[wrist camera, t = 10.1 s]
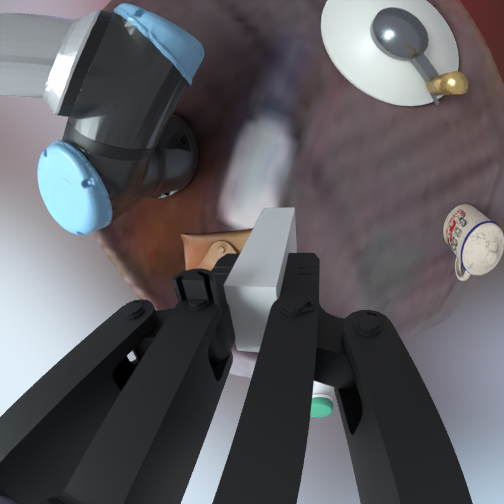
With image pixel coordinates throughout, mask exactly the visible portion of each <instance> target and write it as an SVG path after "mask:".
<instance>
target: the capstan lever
mask: <svg viewBox="0 0 504 504" xmlns="http://www.w3.org/2000/svg"><path fill="white" fill-rule="evenodd" d="M370 34H371V37H372V40H373V42H374V43H375V45H376V46H377V47H378V49H379V50H380V51H382V52H383V53H384V54H386V55H387V56H389V57H391V58H393V59H396V60H402V61H406V60H410V62H411V63H412V64H413V65H414V67H415V68H416V69H417V71H418V72H419V74H420V75H421V76H422V78H423V79H424V81H425V82H426V87H427V90H428V91H429V92H430V93H431V94H432V95H435V96H439V95H455V94H465V93H466V92H467V91H468V81H467V79H466V77H465V76H464V75H463V74H462V73H461V72H458V71H453V72H448V73H444V74H440V75H439V74H438V72H437V71H436V69H435V68H434V67H433V65H432V64H431V62H430V61H429V60H428V58H427V57H426V56H425V54H424V52H425V51H426V49H427V47H428V42H429V39H428V34H427V31H426V29H425V27H424V25H423V24H422V23H421V21H420V20H419V19H418V18H417V17H416V16H414V15H413V14H412V13H410V12H408V11H406V10H404V9H401V8H395V7H389V8H385V9H382V10H381V11H379V12H378V13H377V15H376V16H375V18H374V19H373V21H372V23H371V26H370Z"/></svg>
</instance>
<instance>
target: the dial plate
mask: <svg viewBox="0 0 504 504" xmlns="http://www.w3.org/2000/svg"><path fill="white" fill-rule="evenodd" d="M389 7H395V8H401V9H404V10H406V11H408V12H410V13H412V14H413V15H414V16H416V17H417V18H418V19H419V20H420V21H421V23H422V24H423V25H424V27H425V29H426V31H427V34H428V39H429V42H428V47H427V49H426V51H425V52H424V54H425V56H426V57H427V58H428V60H429V61H430V62H431V64H432V65H433V67H434V68H435V69H436V71H437V72H438V74H439V75H440V74H444V73H448V72H453V71H458V67H459V56H458V49H457V45H456V41H455V38H454V36H453V33H452V31H451V29H450V27H449V26H448V24H447V23H446V21H445V20H444V18H443V17H442V16H441V14H440V13H439V12H438V11H437V10H436V9H435V8H434V7H433V6H432V5H431V4H430V3H429V2H428V1H426V0H328V1H327V2H326V4H325V6H324V9H323V12H322V16H321V35H322V40H323V44H324V46H325V49H326V52H327V54H328V55H329V57H330V59H331V61H332V62H333V64H334V65H335V67H336V68H337V69H338V70H339V72H340V73H341V74H342V75H343V76H344V77H345V78H346V79H347V80H348V81H349V82H350V83H351V84H353V85H354V86H355V87H356V88H358V89H359V90H361V91H362V92H364V93H365V94H367V95H369V96H371V97H373V98H375V99H378V100H380V101H383V102H386V103H390V104H394V105H400V106H417V105H424V104H428V103H431V102H433V101H434V102H435V104H436V106H437V105H439V104H440V103H439V101H438V99H439V98H441V97H442V96H443V95H439V96H435V95H432V94H431V93H430V92H429V91H428V90H427V87H426V82H425V81H424V79H423V78H422V76H421V75H420V74H419V72H418V71H417V69H416V68H415V67H414V65H413V64H412V63H411V62H410V60H406V61H402V60H396V59H393V58H391V57H389V56H387V55H386V54H384V53H383V52H382V51H380V50H379V49H378V47H377V46H376V45H375V43H374V42H373V40H372V37H371V34H370V26H371V23H372V21H373V19H374V18H375V16H376V15H377V13H378V12H379V11H381V10H382V9H385V8H389Z"/></svg>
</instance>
